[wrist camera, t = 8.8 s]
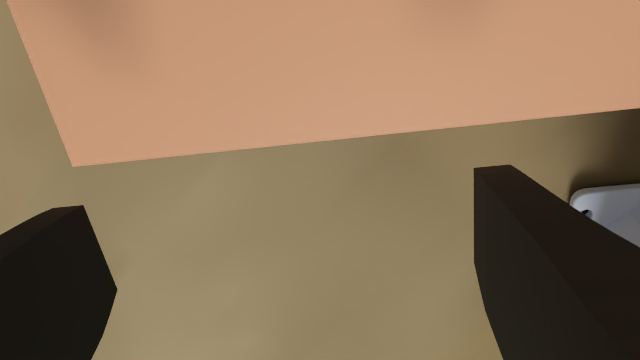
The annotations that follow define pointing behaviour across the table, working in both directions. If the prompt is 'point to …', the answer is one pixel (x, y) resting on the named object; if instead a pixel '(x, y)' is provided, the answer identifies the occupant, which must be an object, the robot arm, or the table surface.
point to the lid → (317, 68)
